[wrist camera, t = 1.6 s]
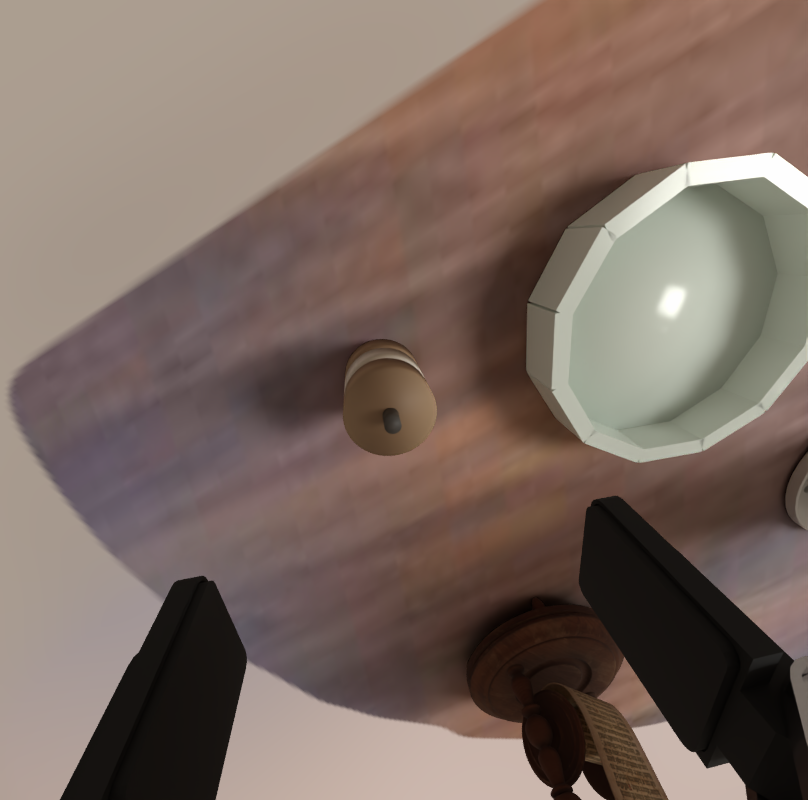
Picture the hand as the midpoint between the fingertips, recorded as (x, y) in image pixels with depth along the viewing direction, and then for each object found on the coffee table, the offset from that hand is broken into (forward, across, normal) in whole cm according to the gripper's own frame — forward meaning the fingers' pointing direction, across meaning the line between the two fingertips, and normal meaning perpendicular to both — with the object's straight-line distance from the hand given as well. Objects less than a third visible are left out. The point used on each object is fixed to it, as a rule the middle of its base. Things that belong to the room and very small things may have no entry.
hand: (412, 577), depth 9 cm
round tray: (+15, -19, -1) cm, 24 cm away
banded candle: (+16, -1, 0) cm, 16 cm away
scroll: (+16, -12, +30) cm, 36 cm away
